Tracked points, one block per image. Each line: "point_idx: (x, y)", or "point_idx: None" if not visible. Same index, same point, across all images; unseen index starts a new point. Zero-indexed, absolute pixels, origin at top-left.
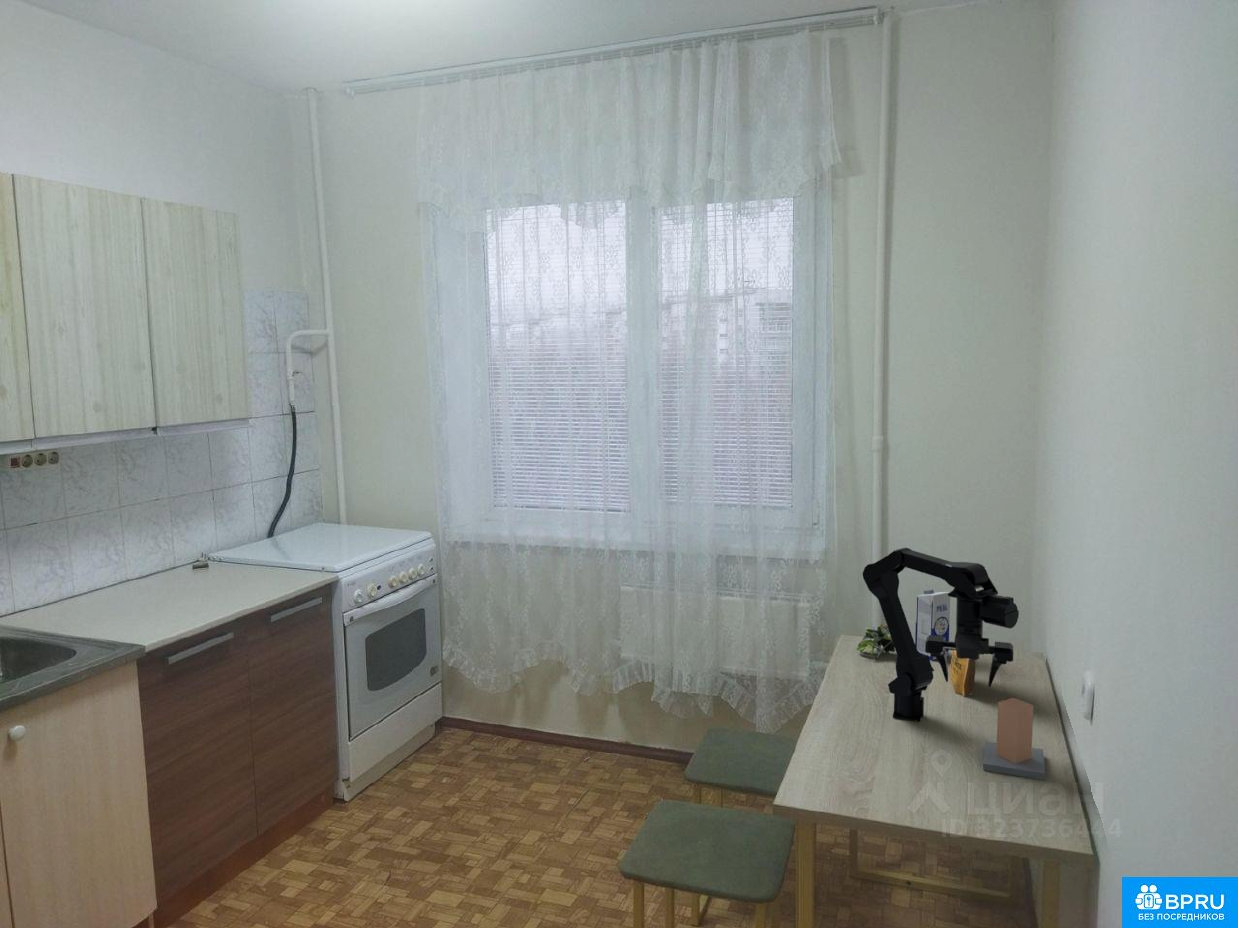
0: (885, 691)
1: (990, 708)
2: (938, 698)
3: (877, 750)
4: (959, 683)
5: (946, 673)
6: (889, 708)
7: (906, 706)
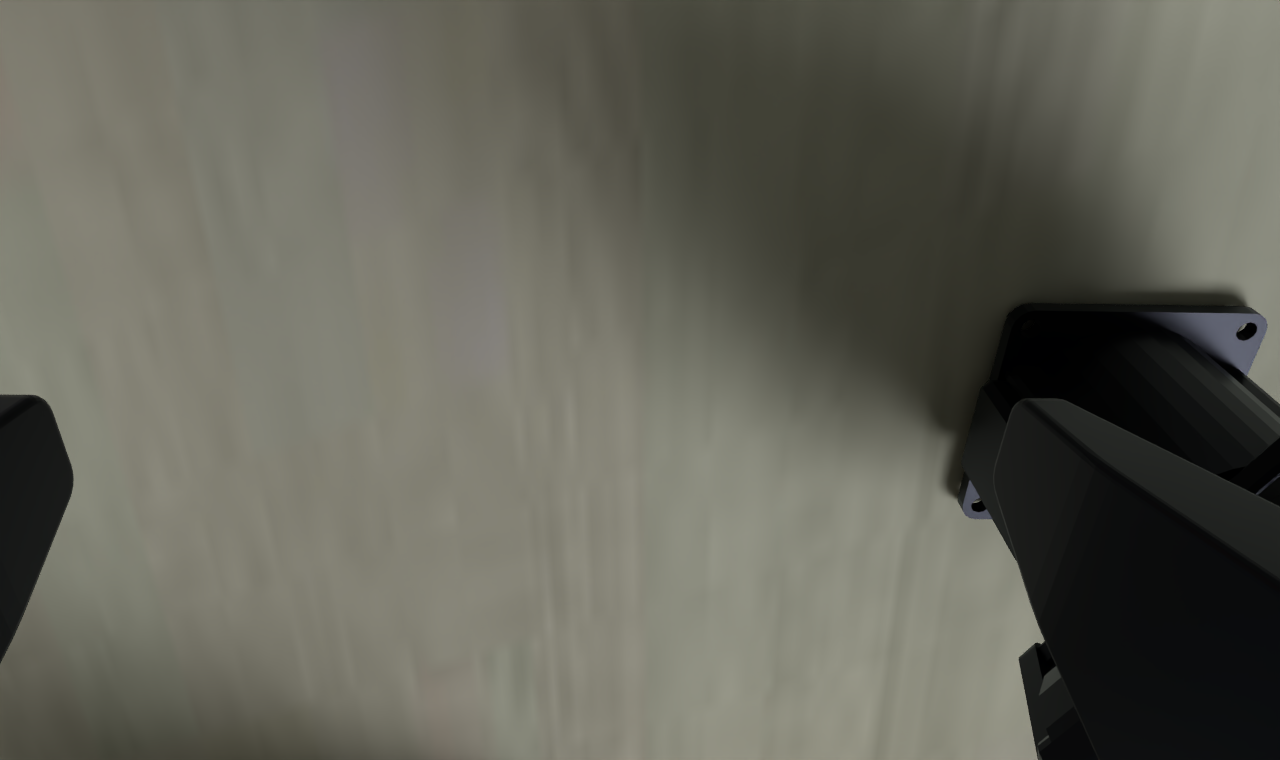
0: None
1: (422, 718)
2: (797, 754)
3: None
4: None
5: (1182, 502)
6: None
7: (1205, 383)
